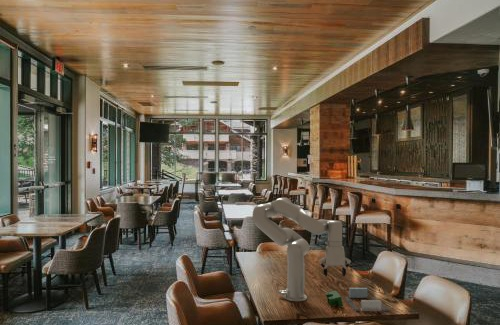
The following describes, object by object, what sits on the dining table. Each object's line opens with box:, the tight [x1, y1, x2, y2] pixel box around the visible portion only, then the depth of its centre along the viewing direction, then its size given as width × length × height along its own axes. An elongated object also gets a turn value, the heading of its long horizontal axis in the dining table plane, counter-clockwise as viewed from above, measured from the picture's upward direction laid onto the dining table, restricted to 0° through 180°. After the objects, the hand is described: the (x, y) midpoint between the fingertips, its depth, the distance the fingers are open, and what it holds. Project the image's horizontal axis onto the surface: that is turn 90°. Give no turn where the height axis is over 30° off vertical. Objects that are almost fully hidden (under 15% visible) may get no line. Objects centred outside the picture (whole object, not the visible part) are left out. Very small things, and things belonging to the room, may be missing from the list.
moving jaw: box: [348, 287, 369, 299], centre depth 233 cm, size 10×2×5 cm, turn 93°
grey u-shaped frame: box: [344, 296, 389, 312], centre depth 221 cm, size 17×20×5 cm
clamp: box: [325, 290, 344, 308], centre depth 221 cm, size 12×6×9 cm, turn 176°
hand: (334, 275), depth 221 cm, fingers open, 9 cm apart
